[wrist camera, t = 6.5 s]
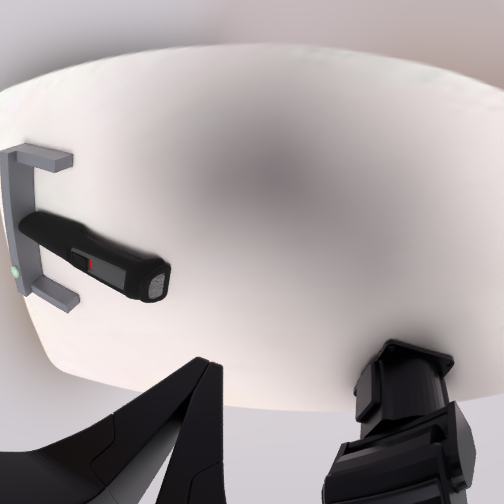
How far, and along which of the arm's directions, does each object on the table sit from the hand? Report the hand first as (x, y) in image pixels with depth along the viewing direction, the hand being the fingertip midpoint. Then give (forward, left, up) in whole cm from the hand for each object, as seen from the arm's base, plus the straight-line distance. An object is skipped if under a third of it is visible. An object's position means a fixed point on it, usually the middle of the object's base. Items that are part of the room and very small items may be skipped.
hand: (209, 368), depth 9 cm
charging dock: (+20, +7, -12) cm, 25 cm away
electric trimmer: (+14, +7, -13) cm, 20 cm away
